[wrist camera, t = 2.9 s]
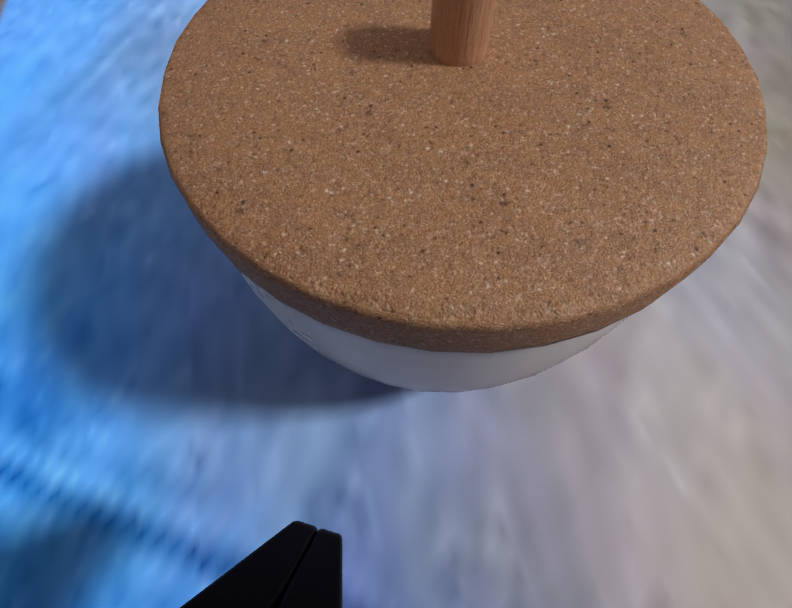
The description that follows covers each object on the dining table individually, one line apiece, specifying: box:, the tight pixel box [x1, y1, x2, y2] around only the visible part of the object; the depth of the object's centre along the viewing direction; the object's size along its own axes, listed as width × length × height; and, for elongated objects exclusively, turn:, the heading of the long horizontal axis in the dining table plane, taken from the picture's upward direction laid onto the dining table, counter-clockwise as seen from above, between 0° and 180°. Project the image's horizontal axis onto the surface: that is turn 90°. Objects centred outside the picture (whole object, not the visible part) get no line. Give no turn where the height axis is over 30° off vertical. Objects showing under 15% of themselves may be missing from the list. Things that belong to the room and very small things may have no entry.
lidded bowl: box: [158, 0, 767, 393], centre depth 13 cm, size 13×13×11 cm
